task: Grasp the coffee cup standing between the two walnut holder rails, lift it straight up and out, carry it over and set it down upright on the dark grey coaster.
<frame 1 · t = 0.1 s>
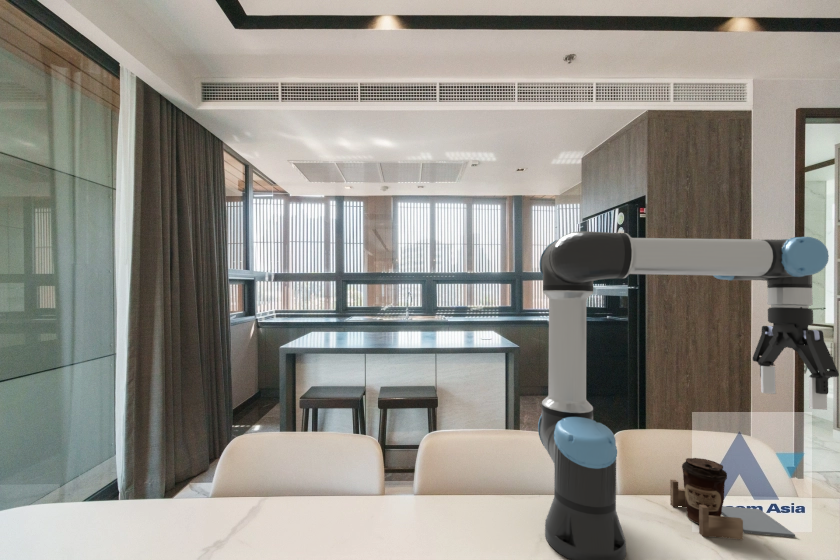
hand: (791, 400, 87), 28 cm above the table, fingers open, 13 cm apart
coffee cup: (704, 522, 87), on the table
cup holder rails: (704, 521, 87), on the table
coaster: (752, 521, 88), on the table
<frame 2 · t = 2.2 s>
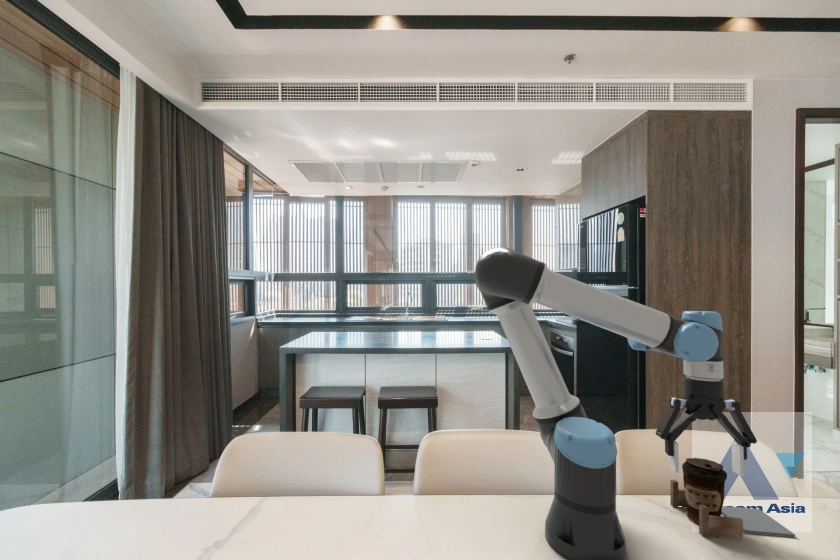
hand: (705, 472, 88), 11 cm above the table, fingers open, 13 cm apart
nothing on the table moved.
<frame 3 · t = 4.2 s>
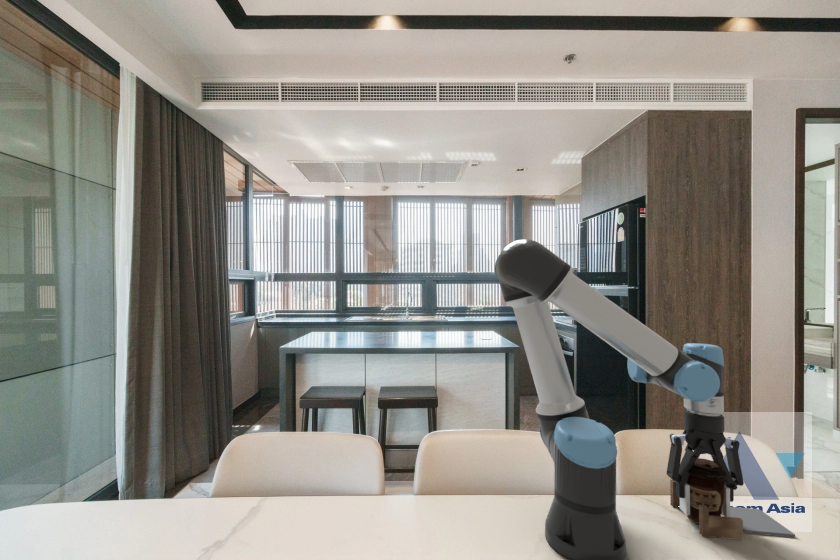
hand: (704, 513, 88), 2 cm above the table, fingers closed on coffee cup, 8 cm apart
coffee cup: (704, 521, 87), on the table, touching gripper
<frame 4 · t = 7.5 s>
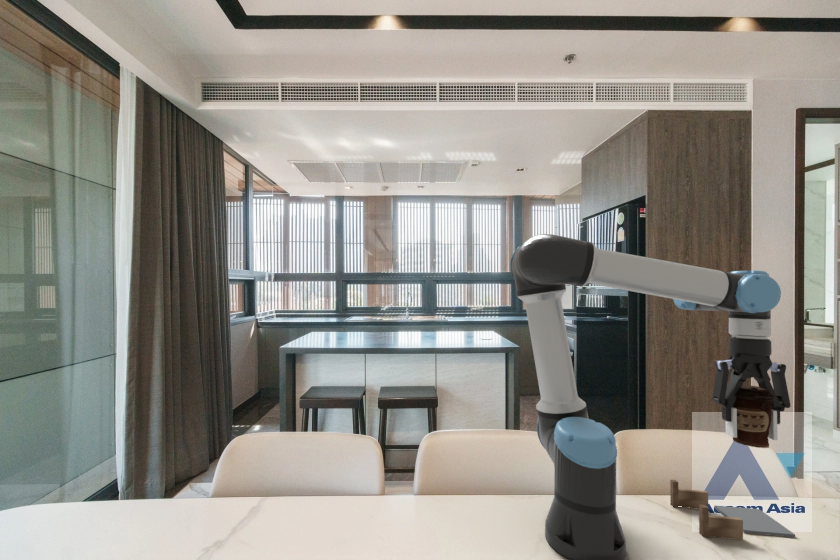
hand: (750, 436, 89), 19 cm above the table, fingers closed on coffee cup, 8 cm apart
coffee cup: (750, 445, 89), point 17 cm above the table, touching gripper
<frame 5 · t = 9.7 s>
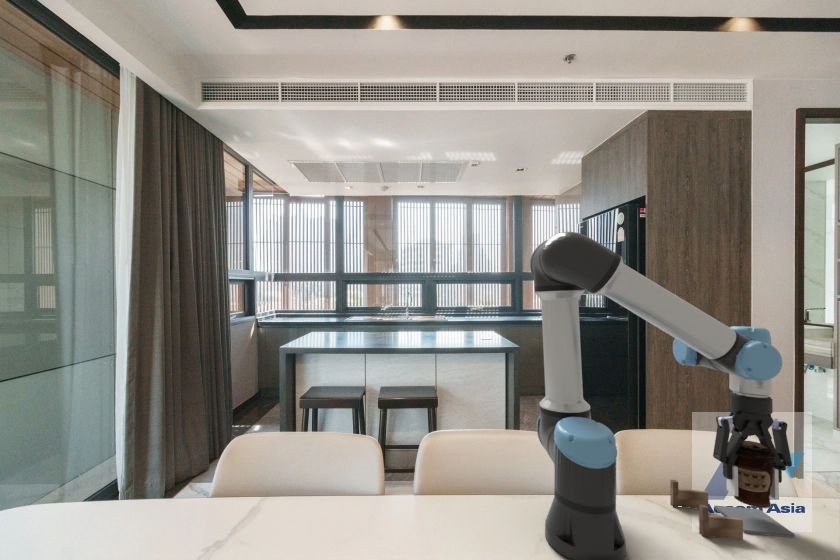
hand: (752, 494, 88), 6 cm above the table, fingers closed on coffee cup, 8 cm apart
coffee cup: (752, 503, 88), point 4 cm above the table, touching gripper
when the fingers open (4 cm above the table, at t = 11.1 s): coffee cup drops 1 cm, resting on coaster.
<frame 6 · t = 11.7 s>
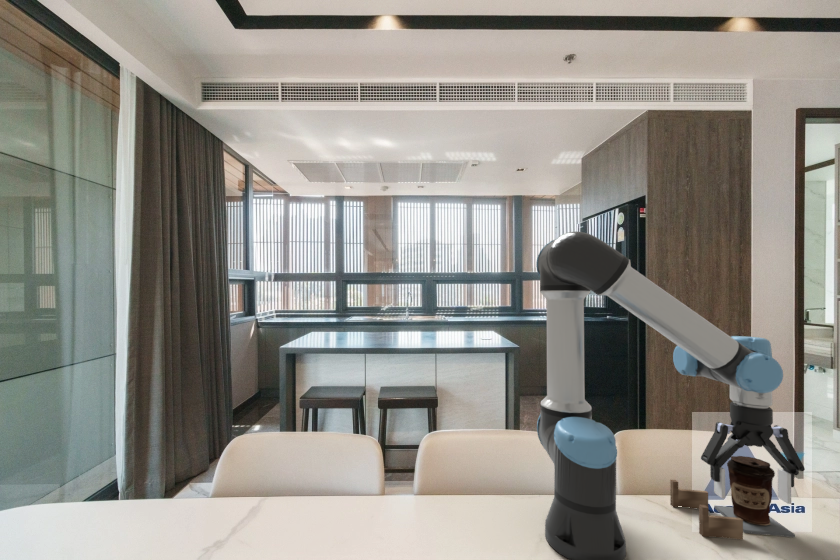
hand: (751, 498, 88), 5 cm above the table, fingers open, 13 cm apart
coffee cup: (751, 519, 88), resting on coaster
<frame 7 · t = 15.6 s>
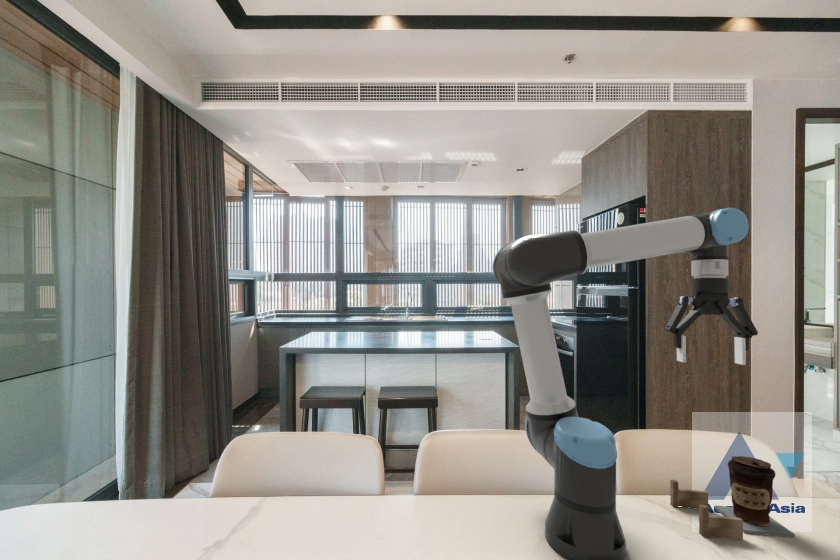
hand: (710, 362, 96), 35 cm above the table, fingers open, 13 cm apart
nothing on the table moved.
at the end: coffee cup 0.2 cm off-centre on the coaster, point 0.4 cm above the coaster's base; coffee cup touching coaster; coffee cup tilted 0° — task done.
